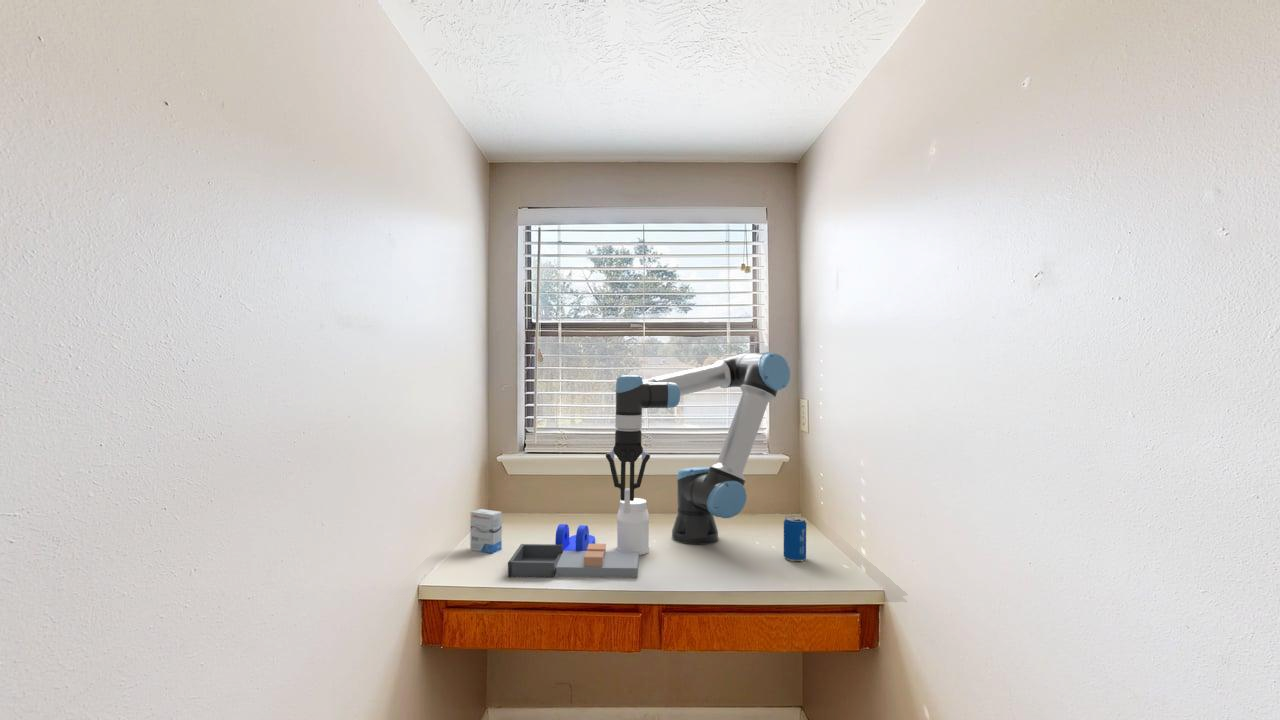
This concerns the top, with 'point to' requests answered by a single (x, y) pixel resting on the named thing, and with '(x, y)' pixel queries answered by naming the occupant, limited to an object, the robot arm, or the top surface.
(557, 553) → the box
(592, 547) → the tile
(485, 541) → the ink box
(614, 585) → the top surface
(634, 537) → the jar
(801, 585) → the top surface
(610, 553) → the board
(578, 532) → the bracket
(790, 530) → the beverage can
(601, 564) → the tile
